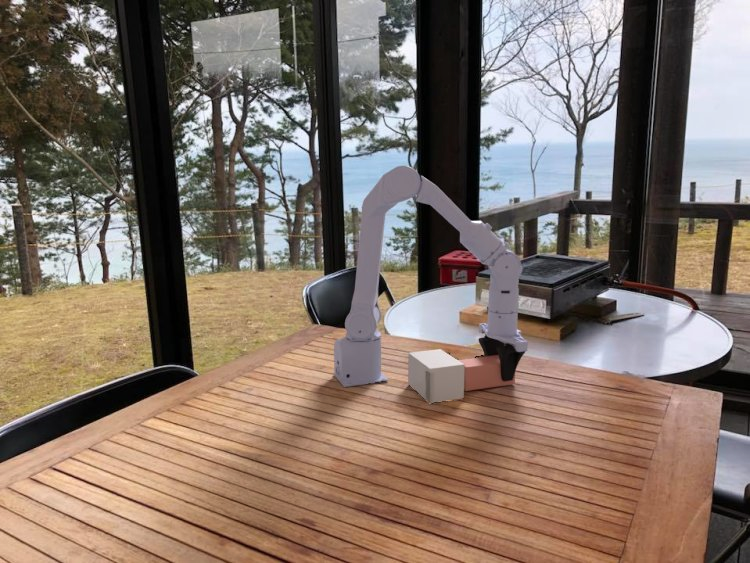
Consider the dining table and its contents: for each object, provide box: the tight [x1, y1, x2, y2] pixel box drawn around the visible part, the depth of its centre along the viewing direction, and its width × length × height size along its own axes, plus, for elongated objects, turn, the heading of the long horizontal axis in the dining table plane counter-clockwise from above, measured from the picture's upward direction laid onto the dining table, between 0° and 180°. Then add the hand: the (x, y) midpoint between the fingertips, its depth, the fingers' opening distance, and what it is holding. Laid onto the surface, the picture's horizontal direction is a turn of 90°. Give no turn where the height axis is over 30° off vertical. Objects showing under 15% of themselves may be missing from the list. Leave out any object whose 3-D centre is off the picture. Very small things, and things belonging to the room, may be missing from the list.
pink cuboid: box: [458, 355, 516, 392], centre depth 110 cm, size 11×4×5 cm, turn 110°
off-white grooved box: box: [407, 348, 465, 404], centre depth 106 cm, size 7×10×7 cm
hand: (500, 376), depth 111 cm, fingers closed on pink cuboid, 4 cm apart
